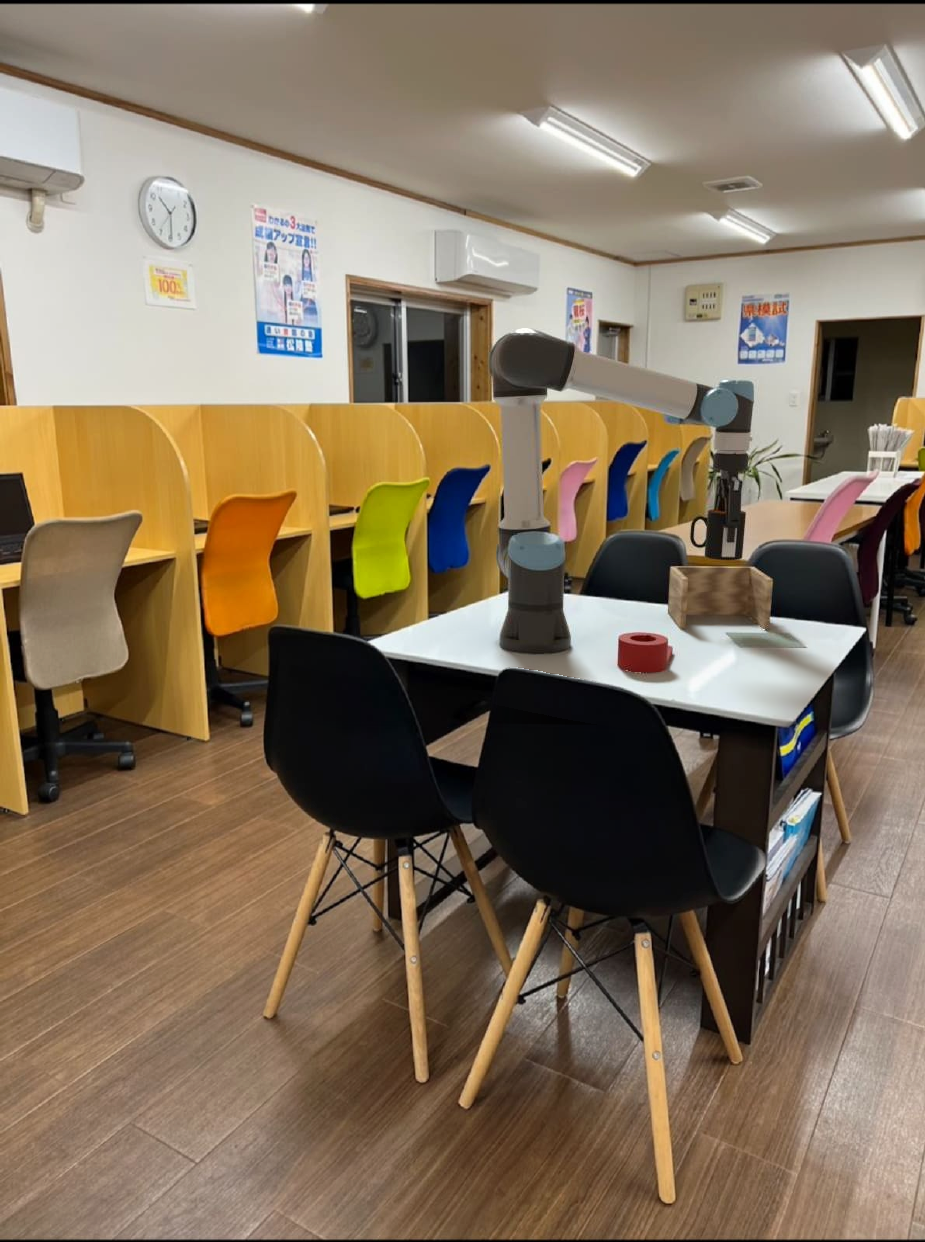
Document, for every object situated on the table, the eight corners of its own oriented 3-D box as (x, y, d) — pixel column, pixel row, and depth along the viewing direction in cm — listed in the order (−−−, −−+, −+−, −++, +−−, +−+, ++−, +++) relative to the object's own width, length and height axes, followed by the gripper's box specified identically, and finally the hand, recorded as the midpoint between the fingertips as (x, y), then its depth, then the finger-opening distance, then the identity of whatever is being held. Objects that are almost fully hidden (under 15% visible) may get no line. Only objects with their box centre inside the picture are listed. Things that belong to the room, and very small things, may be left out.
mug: (693, 551, 210) (696, 507, 208) (745, 555, 205) (749, 510, 202) (684, 556, 203) (687, 511, 201) (737, 561, 198) (741, 514, 195)
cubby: (679, 630, 203) (682, 579, 200) (667, 614, 219) (670, 566, 216) (768, 631, 202) (773, 579, 199) (750, 614, 218) (753, 566, 215)
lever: (655, 681, 167) (657, 647, 166) (609, 673, 172) (610, 640, 171) (688, 658, 182) (690, 627, 180) (644, 652, 187) (646, 621, 185)
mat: (739, 649, 188) (739, 646, 188) (725, 635, 199) (725, 632, 199) (806, 650, 187) (807, 647, 187) (789, 635, 199) (789, 632, 199)
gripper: (761, 455, 187) (752, 561, 193) (736, 449, 208) (728, 546, 213) (725, 454, 187) (717, 561, 193) (704, 449, 208) (697, 545, 213)
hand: (723, 553), depth 203 cm, fingers closed on mug, 8 cm apart
